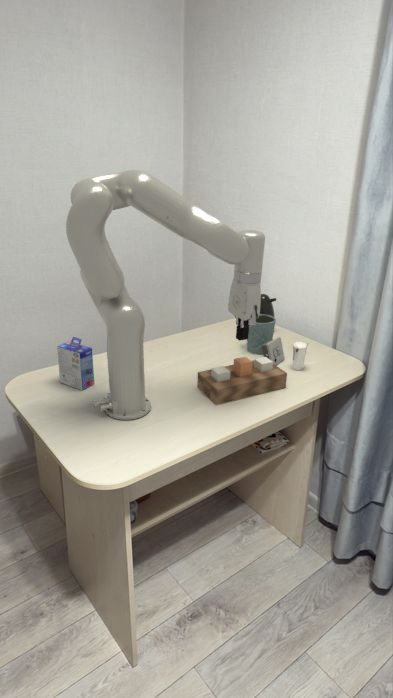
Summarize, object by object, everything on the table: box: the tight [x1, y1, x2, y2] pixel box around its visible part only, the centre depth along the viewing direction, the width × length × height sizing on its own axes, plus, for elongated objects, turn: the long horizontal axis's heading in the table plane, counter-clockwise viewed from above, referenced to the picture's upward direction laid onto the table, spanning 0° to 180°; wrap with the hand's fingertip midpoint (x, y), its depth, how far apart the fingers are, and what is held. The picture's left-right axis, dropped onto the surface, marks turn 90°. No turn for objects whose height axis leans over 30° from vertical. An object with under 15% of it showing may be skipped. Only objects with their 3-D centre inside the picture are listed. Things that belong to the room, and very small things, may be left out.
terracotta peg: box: [233, 356, 253, 377], centre depth 140 cm, size 4×4×6 cm
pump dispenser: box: [260, 293, 277, 319], centre depth 183 cm, size 10×10×15 cm
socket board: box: [197, 359, 288, 406], centre depth 141 cm, size 24×12×5 cm, turn 117°
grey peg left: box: [211, 365, 230, 382], centre depth 138 cm, size 4×4×6 cm
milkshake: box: [292, 341, 309, 371], centre depth 153 cm, size 4×5×10 cm
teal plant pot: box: [246, 314, 277, 356], centre depth 167 cm, size 10×10×12 cm
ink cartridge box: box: [56, 336, 95, 391], centre depth 141 cm, size 10×6×14 cm, turn 58°
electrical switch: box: [262, 336, 285, 366], centre depth 158 cm, size 8×5×8 cm, turn 141°
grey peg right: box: [254, 357, 273, 372], centre depth 144 cm, size 4×4×6 cm
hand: (241, 338), depth 136 cm, fingers closed
